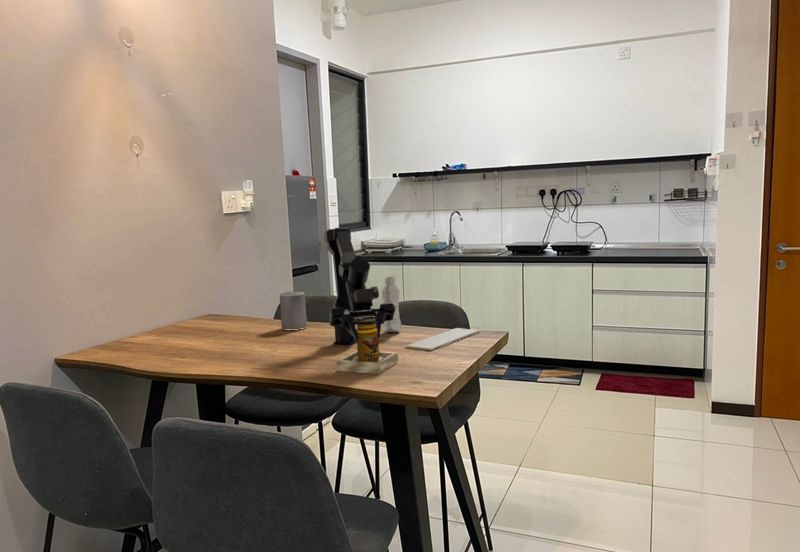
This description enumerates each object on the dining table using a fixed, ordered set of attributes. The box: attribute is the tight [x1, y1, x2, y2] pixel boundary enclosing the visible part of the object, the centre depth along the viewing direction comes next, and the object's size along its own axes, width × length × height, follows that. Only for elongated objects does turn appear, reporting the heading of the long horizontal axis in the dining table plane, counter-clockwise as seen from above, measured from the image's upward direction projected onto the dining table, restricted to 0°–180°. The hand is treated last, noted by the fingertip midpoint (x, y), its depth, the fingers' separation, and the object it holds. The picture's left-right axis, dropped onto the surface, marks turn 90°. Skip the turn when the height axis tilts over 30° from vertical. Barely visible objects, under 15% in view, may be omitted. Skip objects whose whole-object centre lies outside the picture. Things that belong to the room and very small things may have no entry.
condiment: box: [352, 317, 383, 363], centre depth 168 cm, size 7×8×12 cm
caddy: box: [336, 349, 399, 375], centre depth 169 cm, size 13×13×3 cm
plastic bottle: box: [381, 276, 402, 333], centre depth 214 cm, size 6×7×20 cm
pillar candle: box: [279, 291, 308, 330], centre depth 229 cm, size 10×10×15 cm
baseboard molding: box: [403, 324, 480, 352], centre depth 200 cm, size 31×3×12 cm
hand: (367, 338), depth 167 cm, fingers closed on condiment, 6 cm apart
